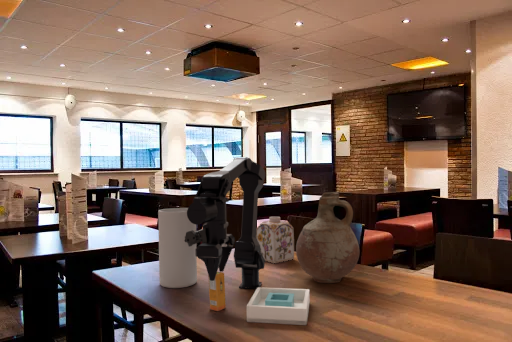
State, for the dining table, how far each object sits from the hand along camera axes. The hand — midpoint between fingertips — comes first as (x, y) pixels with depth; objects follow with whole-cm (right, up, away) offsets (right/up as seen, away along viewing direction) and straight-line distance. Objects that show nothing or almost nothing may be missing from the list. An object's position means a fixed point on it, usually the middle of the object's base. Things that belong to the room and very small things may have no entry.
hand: (217, 275), depth 110 cm
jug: (+36, -9, +27) cm, 45 cm away
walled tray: (+17, -9, -3) cm, 20 cm away
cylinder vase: (-16, -9, +25) cm, 31 cm away
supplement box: (0, -9, 0) cm, 9 cm away
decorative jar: (+19, -9, +58) cm, 62 cm away
